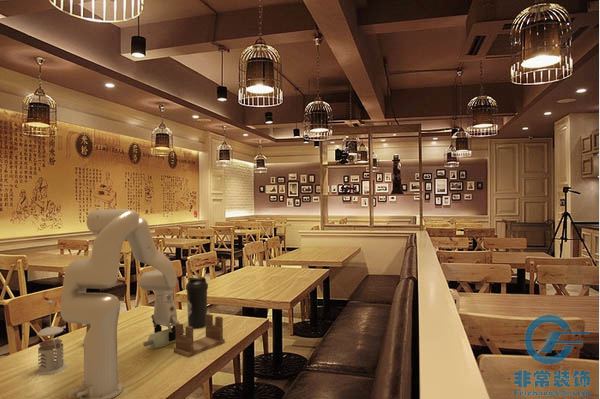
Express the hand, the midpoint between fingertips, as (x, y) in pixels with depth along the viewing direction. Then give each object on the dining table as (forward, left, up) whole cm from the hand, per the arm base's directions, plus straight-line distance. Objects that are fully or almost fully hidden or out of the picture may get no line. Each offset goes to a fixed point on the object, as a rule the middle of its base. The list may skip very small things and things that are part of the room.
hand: (165, 338), depth 173 cm
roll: (0, 0, 0) cm, 0 cm away
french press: (-39, +12, -3) cm, 41 cm away
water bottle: (+24, +8, -3) cm, 25 cm away
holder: (+6, -15, -2) cm, 16 cm away
